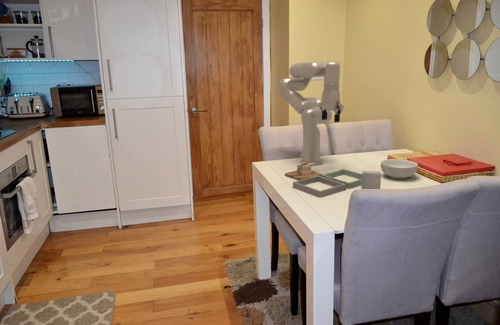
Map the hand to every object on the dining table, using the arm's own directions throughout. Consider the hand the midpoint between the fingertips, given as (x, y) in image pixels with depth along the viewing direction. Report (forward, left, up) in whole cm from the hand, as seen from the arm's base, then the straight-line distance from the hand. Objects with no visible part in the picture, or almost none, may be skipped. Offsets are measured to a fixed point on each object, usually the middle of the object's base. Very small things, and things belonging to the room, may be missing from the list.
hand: (330, 120), depth 193 cm
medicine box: (+36, -11, -27) cm, 46 cm away
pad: (0, -18, -26) cm, 32 cm away
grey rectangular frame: (+19, -26, -26) cm, 42 cm away
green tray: (+19, -8, -26) cm, 33 cm away
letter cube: (0, -18, -25) cm, 31 cm away
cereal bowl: (+31, +16, -27) cm, 44 cm away
